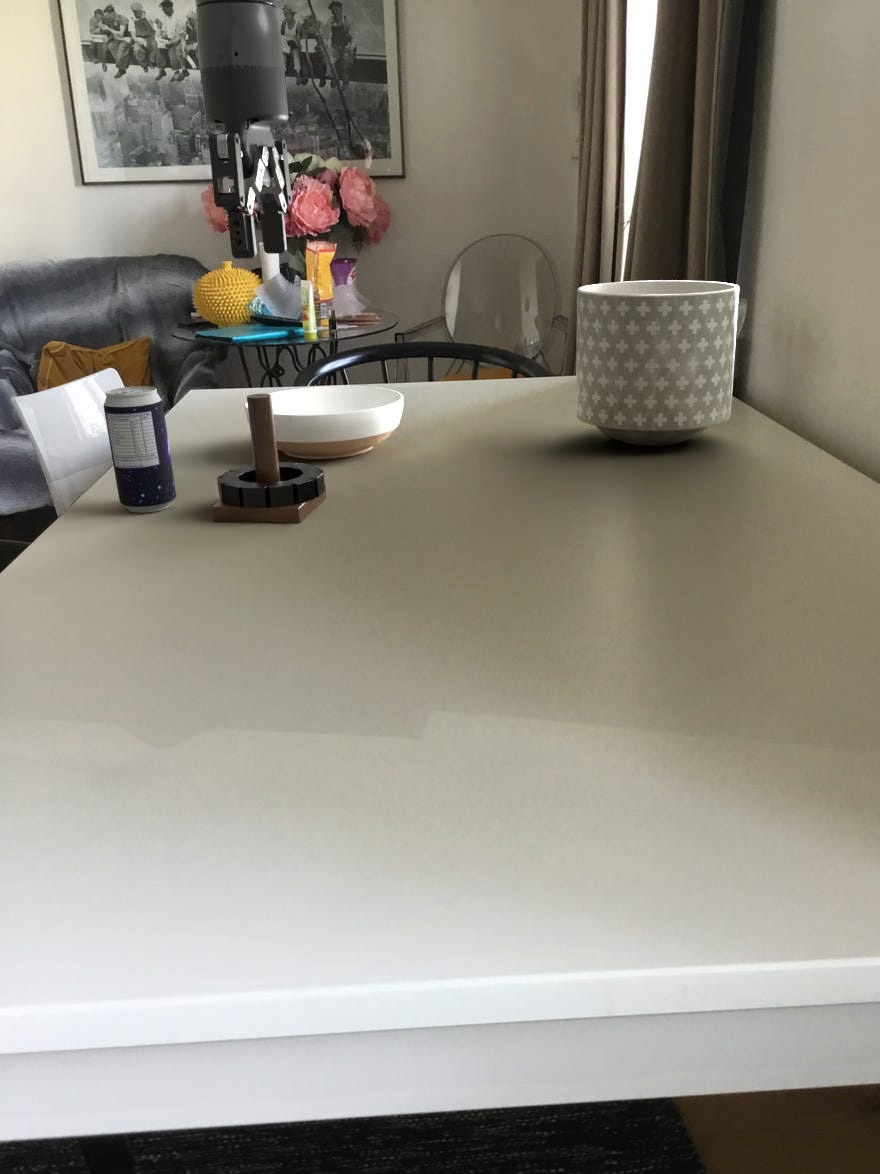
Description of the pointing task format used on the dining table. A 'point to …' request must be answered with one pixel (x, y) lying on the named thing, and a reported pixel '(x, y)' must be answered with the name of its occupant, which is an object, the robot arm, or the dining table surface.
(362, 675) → the dining table surface
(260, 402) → the stand
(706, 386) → the planter
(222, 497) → the ring
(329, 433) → the bowl
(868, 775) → the dining table surface
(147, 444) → the beverage can
